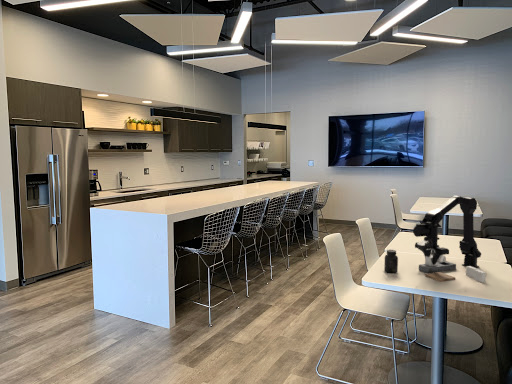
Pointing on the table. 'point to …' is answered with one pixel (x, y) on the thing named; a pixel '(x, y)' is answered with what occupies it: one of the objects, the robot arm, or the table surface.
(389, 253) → the supplement bottle
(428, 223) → the robot arm
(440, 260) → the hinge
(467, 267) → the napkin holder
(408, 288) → the table surface
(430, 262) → the steel plug
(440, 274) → the walnut pad
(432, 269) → the grey cinder block
